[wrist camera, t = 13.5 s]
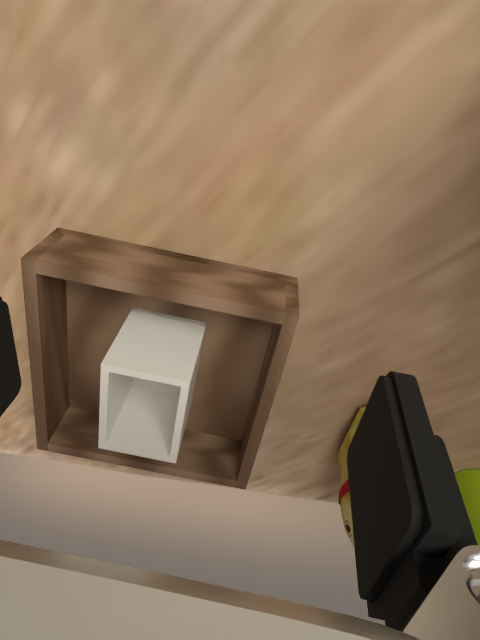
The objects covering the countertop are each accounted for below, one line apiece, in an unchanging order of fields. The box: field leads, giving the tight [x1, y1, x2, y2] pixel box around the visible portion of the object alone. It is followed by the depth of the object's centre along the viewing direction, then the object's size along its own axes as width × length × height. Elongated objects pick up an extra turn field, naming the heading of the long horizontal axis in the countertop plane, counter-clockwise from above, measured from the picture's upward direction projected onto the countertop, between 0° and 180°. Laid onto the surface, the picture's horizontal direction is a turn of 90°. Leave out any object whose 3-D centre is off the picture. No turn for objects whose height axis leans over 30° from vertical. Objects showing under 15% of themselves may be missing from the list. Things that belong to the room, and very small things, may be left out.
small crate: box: [98, 307, 207, 464], centre depth 38 cm, size 6×9×8 cm
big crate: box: [21, 228, 299, 489], centre depth 39 cm, size 20×20×6 cm
